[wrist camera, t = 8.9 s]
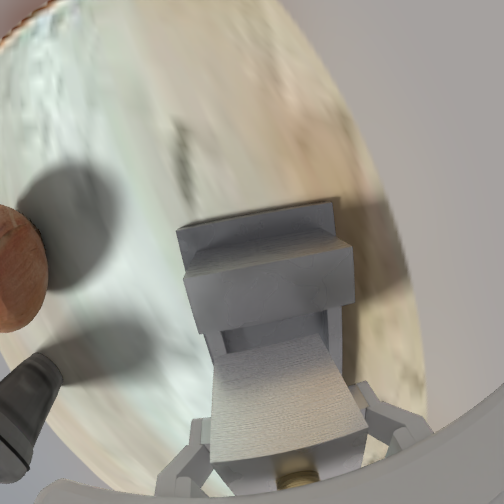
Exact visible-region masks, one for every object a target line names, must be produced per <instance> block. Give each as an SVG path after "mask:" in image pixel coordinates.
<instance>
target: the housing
mask: <svg viewBox="0 0 504 504" xmlns="http://www.w3.org/2000/svg"><path fill="white" fill-rule="evenodd" d="M368 428H369V426H368V425H367V423H366V421H365V419H364V417H363V415H362V413H361V411H360V409H359V408H358V406H357V404H356V402H355V400H354V398H353V396H352V394H351V392H350V391H349V389H348V387H347V385H346V383H345V381H344V379H343V378H342V376H341V374H340V372H339V370H338V368H337V367H336V365H335V363H334V361H333V359H332V357H331V356H330V354H329V352H328V350H327V348H326V346H325V345H324V343H323V341H322V339H321V337H320V336H319V334H318V333H316V334H312V335H309V336H305V337H301V338H297V339H293V340H289V341H285V342H281V343H277V344H272V345H268V346H263V347H259V348H254V349H249V350H244V351H239V352H234V353H229V354H223V355H218V356H214V372H213V390H212V411H211V437H210V464H211V465H212V466H213V468H214V469H215V470H216V472H217V473H218V474H219V476H220V477H221V478H222V480H223V481H224V482H225V483H226V485H227V486H228V487H229V488H230V490H231V491H232V492H233V493H234V494H235V496H241V495H250V494H258V493H265V492H271V491H277V490H283V489H288V488H293V487H297V486H302V485H306V484H310V483H314V482H318V481H322V480H325V479H329V478H332V477H335V476H338V475H342V474H345V473H348V472H351V471H354V470H356V469H359V468H361V464H362V459H363V455H364V450H365V445H366V440H367V434H368Z"/></svg>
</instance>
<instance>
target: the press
mask: <svg viewBox="0 0 504 504" xmlns="http://www.w3.org/2000/svg"><path fill="white" fill-rule="evenodd" d="M176 234H177V238H178V242H179V247H180V251H181V255H182V259H183V263H184V267H185V271H186V274H185V276H184V278H183V281H184V285H185V288H186V292H187V296H188V299H189V303H190V306H191V309H192V313H193V316H194V319H195V323H196V326H197V329H198V332H199V334H204V337H205V341H206V344H207V347H208V350H209V353H210V356H211V359H212V362H213V365H214V356H218V355H223V354H229V353H234V352H239V351H244V350H249V349H254V348H259V347H263V346H268V345H272V344H277V343H281V342H285V341H289V340H293V339H297V338H301V337H305V336H309V335H312V334H316V333H318V334H319V336H320V337H321V339H322V341H323V343H324V345H325V346H326V348H327V350H328V352H329V354H330V356H331V357H332V359H333V361H334V363H335V365H336V367H337V368H338V370H339V372H340V374H341V376H342V308H341V306H344V305H348V304H352V303H355V283H354V262H353V247H352V246H351V245H349V244H348V243H346V242H344V241H343V240H341V239H339V238H337V237H336V232H335V222H334V214H333V205H332V202H329V201H324V202H318V203H312V204H305V205H299V206H293V207H287V208H282V209H276V210H270V211H264V212H259V213H253V214H248V215H243V216H237V217H232V218H227V219H222V220H217V221H212V222H207V223H202V224H197V225H192V226H187V227H182V228H179V229H177V230H176Z"/></svg>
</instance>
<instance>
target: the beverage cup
mask: <svg viewBox="0 0 504 504" xmlns="http://www.w3.org/2000/svg"><path fill="white" fill-rule="evenodd" d="M62 383H63V379H62V375H61V373H60V371H59V369H58V368H57V367H56V365H55V364H54V363H53V362H52V361H51V360H50V359H48V358H47V357H46V356H44V355H42V354H39V353H34V354H32V355H31V356H30V357H29V358H27V359H26V360H24V361H23V362H22V363H21V364H20V365H18V366H17V367H16V368H15V369H14V370H13V371H12V372H11V373H9V374H8V375H7V376H6V377H5V378H4V379H3V380H2V381H1V382H0V483H2V484H10V483H14V482H17V481H18V480H20V479H21V478H22V477H23V476H24V475H25V473H26V472H27V471H29V470H30V467H29V465H30V463H31V459H32V455H33V447H34V445H35V443H36V440H37V438H38V436H39V433H40V431H41V429H42V426H43V424H44V422H45V420H46V418H47V415H48V413H49V411H50V409H51V407H52V405H53V403H54V401H55V399H56V397H57V395H58V391H59V389H60V387H61V385H62Z"/></svg>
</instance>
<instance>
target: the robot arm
mask: <svg viewBox="0 0 504 504" xmlns="http://www.w3.org/2000/svg"><path fill="white" fill-rule="evenodd" d="M348 389H349V391H350V392H351V394H352V396H353V398H354V400H355V402H356V404H357V406H358V408H359V409H360V411H361V413H362V415H363V417H364V419H365V421H366V423H367V425H368V426H369V428H368V434H369V435H371V436H373V437H374V438H376V439H378V440H380V441H381V442H383V443H385V444H386V445H388V446H389V448H388V451H387V454H386V456H385V458H384V459H382V460H379V461H377V462H375V463H372V464H370V465H367V466H364V467H362V468H359V469H356V470H354V471H351V472H348V473H345V474H342V475H338V476H335V477H332V478H329V479H325V480H322V481H318V482H314V483H310V484H306V485H302V486H297V487H293V488H288V489H283V490H277V491H271V492H265V493H258V494H250V495H241V496H229V497H211V498H209V497H208V496H207V495H206V494H205V493H204V492H203V491H202V490H201V489H200V488H201V487H202V486H203V484H204V483H205V481H206V480H207V478H208V477H209V475H210V474H211V472H212V471H213V469H214V468H213V466H212V465H211V464H210V437H211V417H209V418H198V419H193V420H192V422H191V430H190V439H189V445H186V446H185V447H184V448H183V449H182V450H181V451H180V452H179V454H178V455H177V456H176V457H175V458H174V459H173V460H172V461H171V462H170V463H169V464H168V465H167V466H166V467H165V468H164V469H163V470H162V471H161V472H160V473H159V474H158V476H157V482H156V488H155V495H154V496H149V495H140V494H132V493H126V492H119V491H114V490H108V489H103V488H99V487H94V486H90V485H86V484H82V483H78V482H75V481H72V480H68V479H64V478H63V479H58V480H56V481H55V482H53V483H52V484H50V485H48V486H47V487H45V488H43V489H42V490H41V491H40V493H39V494H38V496H37V498H36V499H35V502H34V504H504V383H503V384H502V385H501V386H500V387H499V388H498V389H496V390H495V391H494V392H493V393H492V394H490V395H489V396H488V397H487V398H485V399H484V400H483V401H481V402H480V403H479V404H478V405H476V406H475V407H474V408H472V409H471V410H469V411H468V412H467V413H465V414H464V415H462V416H461V417H459V418H458V419H456V420H455V421H453V422H452V423H450V424H449V425H447V426H446V427H444V428H442V429H441V430H439V431H437V432H436V433H434V432H433V431H432V429H431V428H430V426H429V425H428V424H427V422H426V421H425V419H424V418H423V417H422V416H420V415H417V414H415V413H412V412H409V411H407V410H404V409H401V408H399V407H396V406H394V405H391V404H389V403H386V402H384V401H383V402H380V401H379V399H378V398H377V396H376V395H375V393H374V391H373V390H372V388H371V387H370V385H369V384H368V382H367V381H366V380H365V381H363V382H360V383H357V384H354V385H351V386H348Z"/></svg>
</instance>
